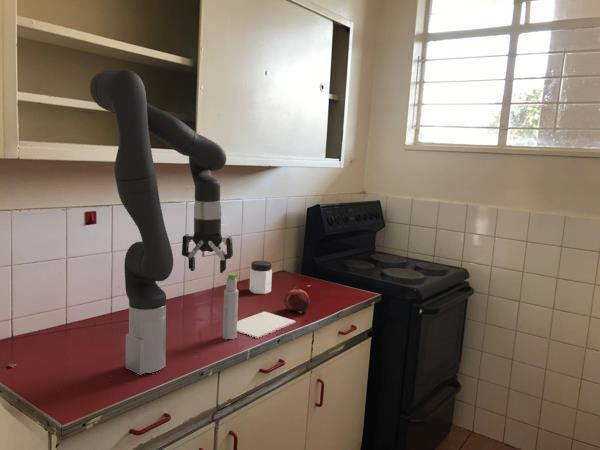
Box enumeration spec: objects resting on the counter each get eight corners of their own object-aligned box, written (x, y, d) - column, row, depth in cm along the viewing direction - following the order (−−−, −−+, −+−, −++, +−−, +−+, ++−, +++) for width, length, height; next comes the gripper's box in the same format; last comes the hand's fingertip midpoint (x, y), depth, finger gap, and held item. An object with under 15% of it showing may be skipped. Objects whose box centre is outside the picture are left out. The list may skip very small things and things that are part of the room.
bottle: (232, 340, 153) (234, 277, 150) (220, 338, 155) (221, 275, 152) (239, 336, 157) (241, 274, 154) (227, 333, 159) (229, 272, 156)
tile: (257, 338, 156) (257, 336, 156) (224, 327, 164) (224, 325, 164) (295, 322, 172) (295, 320, 172) (264, 313, 180) (264, 311, 180)
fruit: (304, 317, 178) (306, 289, 177) (279, 312, 181) (281, 286, 180) (312, 309, 187) (314, 283, 185) (288, 305, 190) (290, 280, 188)
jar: (274, 293, 205) (275, 264, 203) (255, 295, 201) (256, 265, 199) (264, 287, 213) (265, 259, 211) (246, 289, 209) (247, 261, 207)
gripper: (178, 217, 138) (179, 273, 141) (229, 219, 137) (229, 276, 141) (186, 212, 146) (187, 266, 149) (235, 214, 145) (234, 269, 148)
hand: (207, 271), depth 145 cm, fingers open, 8 cm apart
